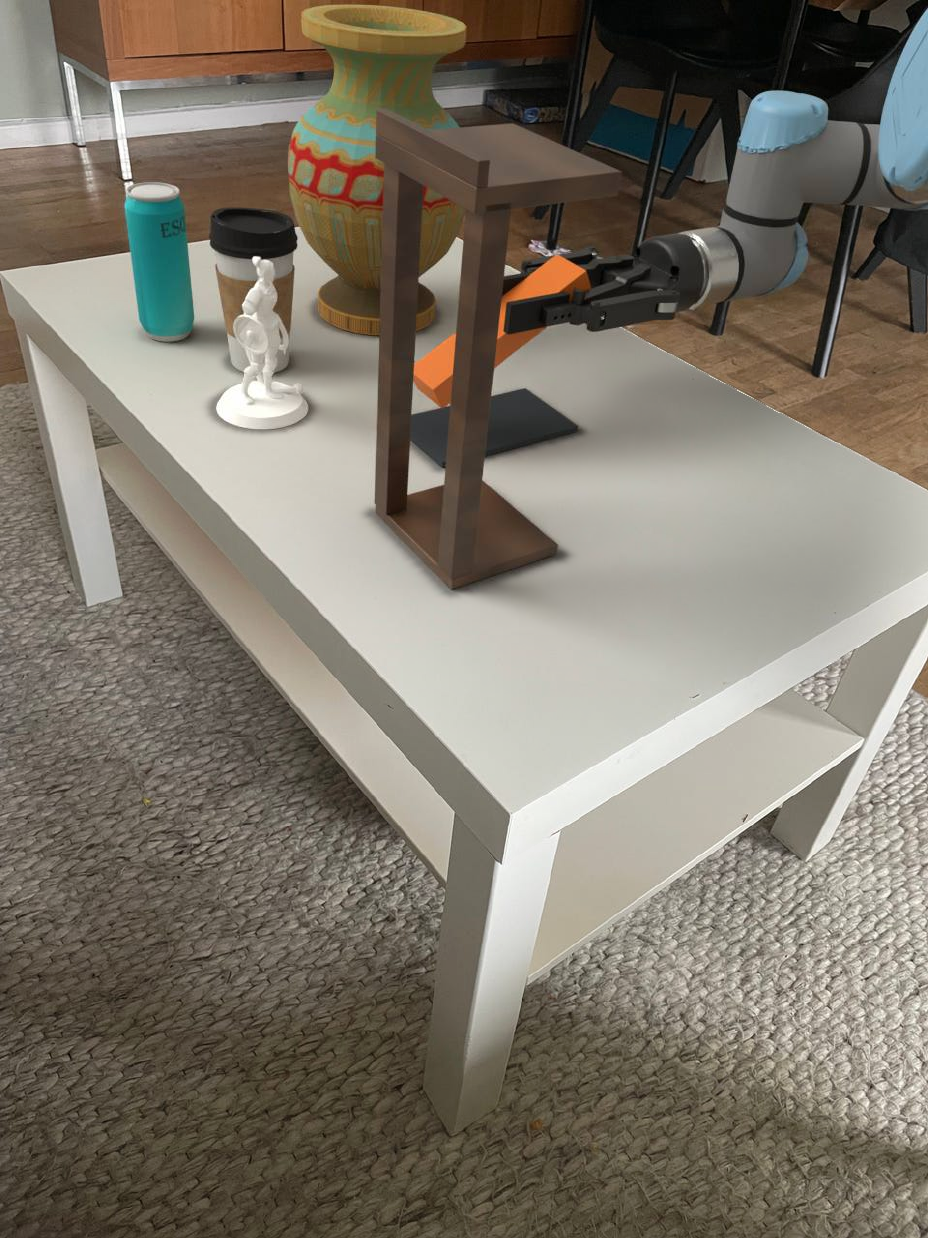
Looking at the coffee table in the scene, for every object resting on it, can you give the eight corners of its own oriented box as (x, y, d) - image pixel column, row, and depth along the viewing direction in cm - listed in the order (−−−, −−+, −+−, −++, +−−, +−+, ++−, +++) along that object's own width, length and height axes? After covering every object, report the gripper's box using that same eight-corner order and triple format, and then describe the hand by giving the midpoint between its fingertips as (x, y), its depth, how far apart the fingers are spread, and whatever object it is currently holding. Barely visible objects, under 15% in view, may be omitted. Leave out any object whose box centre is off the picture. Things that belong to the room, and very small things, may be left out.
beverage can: (207, 332, 110) (194, 189, 101) (169, 349, 106) (153, 202, 97) (167, 317, 112) (151, 177, 103) (129, 334, 108) (109, 189, 99)
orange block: (563, 274, 96) (557, 253, 94) (592, 291, 93) (586, 270, 91) (417, 388, 94) (407, 368, 92) (442, 409, 91) (432, 389, 89)
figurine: (266, 438, 93) (259, 280, 84) (196, 408, 97) (181, 253, 87) (326, 405, 99) (325, 253, 90) (258, 378, 103) (251, 229, 93)
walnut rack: (476, 484, 90) (515, 99, 70) (556, 554, 83) (626, 146, 63) (366, 515, 85) (375, 108, 65) (442, 593, 78) (479, 160, 58)
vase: (495, 319, 119) (524, 31, 100) (371, 363, 108) (378, 45, 89) (381, 268, 129) (388, -4, 110) (256, 303, 117) (241, 6, 98)
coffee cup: (214, 347, 108) (202, 202, 98) (293, 342, 110) (289, 201, 100) (224, 382, 101) (212, 232, 92) (307, 377, 104) (304, 229, 94)
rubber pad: (524, 392, 105) (525, 387, 105) (577, 431, 100) (578, 425, 99) (392, 424, 98) (392, 418, 97) (441, 467, 92) (442, 462, 92)
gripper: (733, 341, 98) (543, 386, 87) (618, 278, 109) (436, 311, 98) (753, 265, 94) (555, 303, 83) (631, 206, 104) (441, 233, 93)
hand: (491, 307), depth 90 cm, fingers closed on orange block, 4 cm apart
